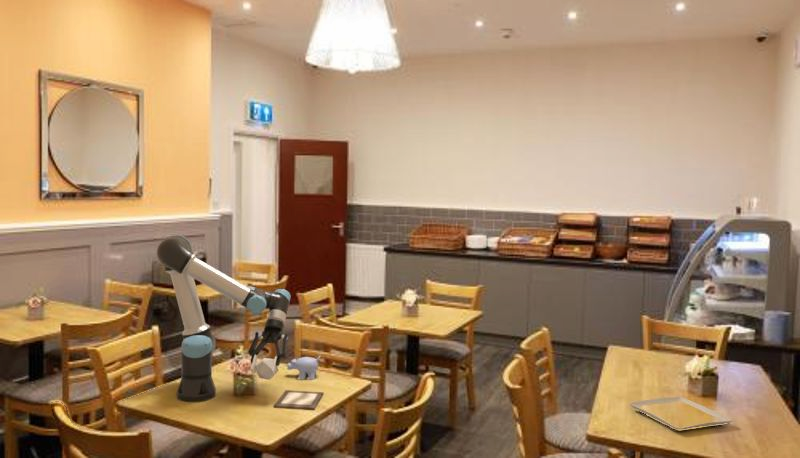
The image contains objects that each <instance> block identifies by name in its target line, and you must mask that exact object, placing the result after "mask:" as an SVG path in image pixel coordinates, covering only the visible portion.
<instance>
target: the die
mask: <svg viewBox="0 0 800 458" xmlns="http://www.w3.org/2000/svg"><path fill="white" fill-rule="evenodd" d="M274 359H275V358H270V357H269V358H268V357H263V358H261V360H260V361H259V362H258V363H256V366H255V371H256V373H257V376H258V378H259V379H262V380H267V381H268V380H269V381H270V380H271V379H273V378H274V377H275V375H277V373H278V372H279V368H278V366H276V370H275V374H273V373H272V367H273V363H274Z"/></svg>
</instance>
